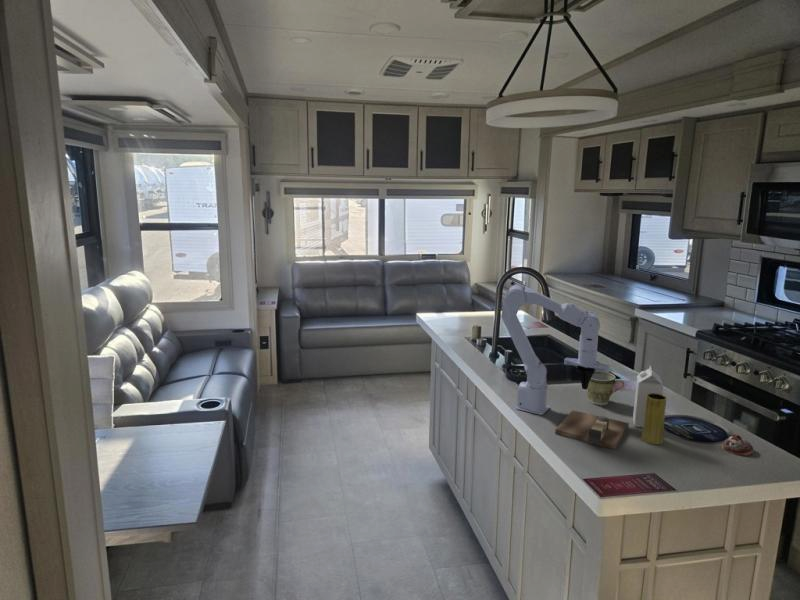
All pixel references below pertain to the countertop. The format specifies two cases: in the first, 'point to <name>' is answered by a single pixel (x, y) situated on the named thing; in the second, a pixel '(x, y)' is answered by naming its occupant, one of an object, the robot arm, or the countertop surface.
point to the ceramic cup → (601, 387)
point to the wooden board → (582, 422)
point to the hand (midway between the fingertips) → (584, 388)
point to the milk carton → (645, 393)
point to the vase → (654, 419)
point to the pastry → (738, 446)
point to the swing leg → (598, 429)
